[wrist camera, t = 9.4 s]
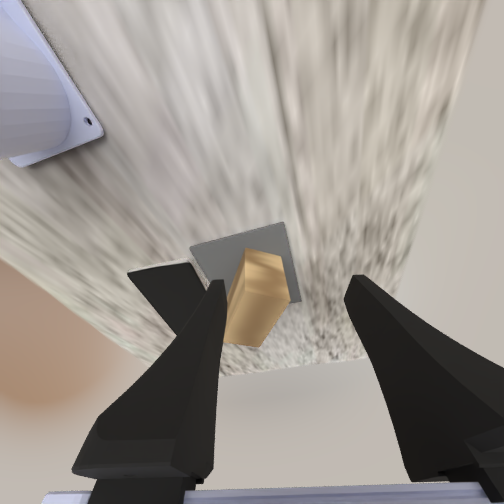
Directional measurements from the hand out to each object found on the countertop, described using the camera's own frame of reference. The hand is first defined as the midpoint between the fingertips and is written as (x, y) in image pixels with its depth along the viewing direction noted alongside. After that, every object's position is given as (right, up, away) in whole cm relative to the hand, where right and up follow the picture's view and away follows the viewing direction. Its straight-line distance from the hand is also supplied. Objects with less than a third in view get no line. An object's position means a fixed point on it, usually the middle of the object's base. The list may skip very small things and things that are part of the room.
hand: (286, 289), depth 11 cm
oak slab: (-2, -1, +12) cm, 12 cm away
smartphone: (-11, -5, +16) cm, 20 cm away
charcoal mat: (-2, -1, +12) cm, 12 cm away
